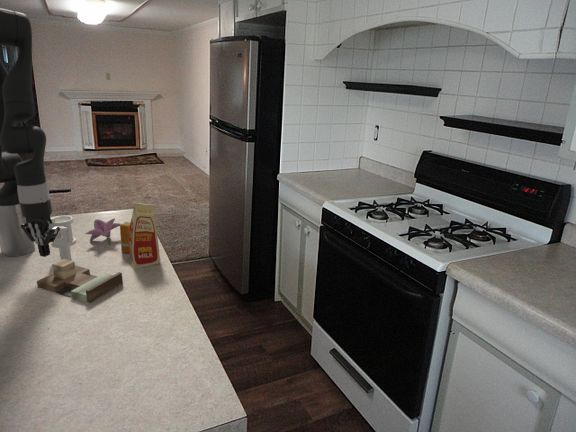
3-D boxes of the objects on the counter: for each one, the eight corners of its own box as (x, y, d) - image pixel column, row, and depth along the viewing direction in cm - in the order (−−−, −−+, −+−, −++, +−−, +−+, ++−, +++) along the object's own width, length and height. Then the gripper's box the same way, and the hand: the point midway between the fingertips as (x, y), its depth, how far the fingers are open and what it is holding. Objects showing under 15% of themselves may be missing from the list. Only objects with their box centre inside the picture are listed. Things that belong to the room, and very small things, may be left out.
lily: (128, 239, 158) (118, 215, 158) (123, 238, 147) (113, 212, 147) (96, 252, 155) (86, 228, 155) (89, 252, 144) (77, 226, 144)
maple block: (54, 276, 122) (52, 264, 120) (65, 271, 125) (64, 258, 124) (64, 279, 120) (62, 266, 119) (75, 273, 124) (74, 261, 123)
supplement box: (130, 253, 143) (128, 225, 140) (121, 252, 144) (118, 224, 141) (135, 249, 146) (133, 222, 143) (126, 248, 147) (124, 221, 144)
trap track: (37, 287, 120) (35, 276, 118) (72, 270, 130) (71, 260, 129) (90, 302, 113) (88, 291, 112) (122, 283, 123) (121, 272, 122)
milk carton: (133, 268, 133) (128, 207, 127) (129, 256, 141) (123, 199, 135) (163, 263, 137) (159, 203, 131) (157, 252, 145) (153, 196, 139)
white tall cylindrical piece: (48, 261, 136) (41, 217, 131) (67, 253, 142) (60, 210, 137) (65, 265, 133) (58, 220, 128) (83, 257, 139) (77, 214, 135)
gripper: (5, 199, 118) (17, 257, 124) (40, 204, 114) (51, 264, 119) (29, 193, 125) (39, 247, 130) (63, 197, 120) (72, 254, 126)
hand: (45, 255), depth 125 cm, fingers closed
